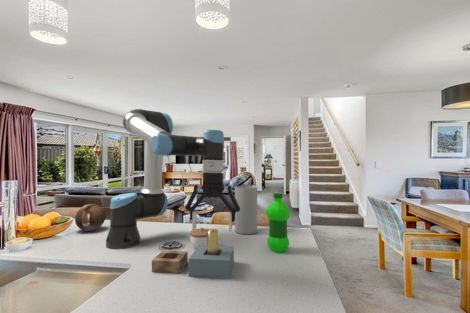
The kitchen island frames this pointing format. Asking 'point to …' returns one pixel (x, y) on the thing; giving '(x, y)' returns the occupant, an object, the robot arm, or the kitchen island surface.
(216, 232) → the brass pin
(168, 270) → the block
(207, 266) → the dock socket
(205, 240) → the lidded jar
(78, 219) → the wooden sphere
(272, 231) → the plastic bottle
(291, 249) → the kitchen island surface
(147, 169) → the robot arm
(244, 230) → the cylinder vase
